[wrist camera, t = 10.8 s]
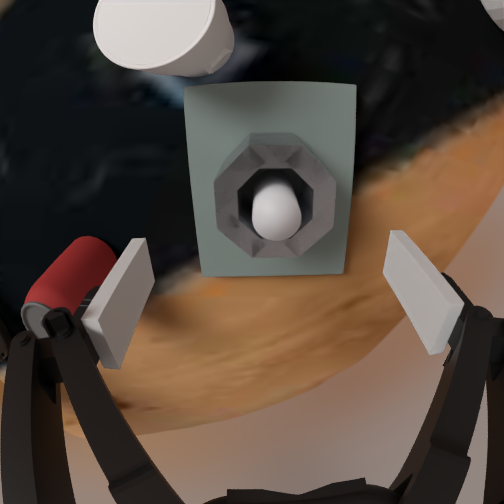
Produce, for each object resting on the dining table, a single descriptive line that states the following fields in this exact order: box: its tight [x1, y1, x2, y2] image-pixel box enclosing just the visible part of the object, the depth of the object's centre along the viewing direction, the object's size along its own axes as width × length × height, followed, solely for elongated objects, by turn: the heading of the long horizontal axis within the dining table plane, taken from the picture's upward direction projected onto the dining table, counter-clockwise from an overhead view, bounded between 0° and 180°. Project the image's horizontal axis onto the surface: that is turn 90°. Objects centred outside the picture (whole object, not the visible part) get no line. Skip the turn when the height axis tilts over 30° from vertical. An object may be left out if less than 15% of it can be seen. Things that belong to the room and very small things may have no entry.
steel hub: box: [213, 133, 337, 258], centre depth 23 cm, size 8×8×6 cm
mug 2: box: [93, 0, 234, 77], centre depth 17 cm, size 12×9×8 cm
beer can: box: [21, 236, 117, 339], centre depth 28 cm, size 7×7×12 cm
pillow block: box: [183, 81, 356, 277], centre depth 24 cm, size 14×18×9 cm
